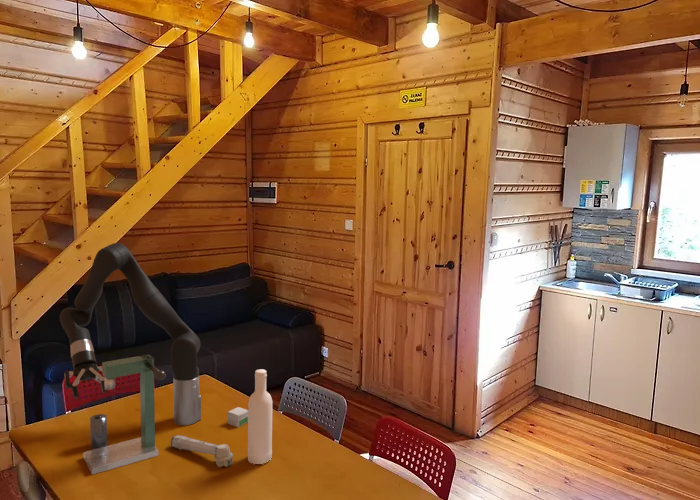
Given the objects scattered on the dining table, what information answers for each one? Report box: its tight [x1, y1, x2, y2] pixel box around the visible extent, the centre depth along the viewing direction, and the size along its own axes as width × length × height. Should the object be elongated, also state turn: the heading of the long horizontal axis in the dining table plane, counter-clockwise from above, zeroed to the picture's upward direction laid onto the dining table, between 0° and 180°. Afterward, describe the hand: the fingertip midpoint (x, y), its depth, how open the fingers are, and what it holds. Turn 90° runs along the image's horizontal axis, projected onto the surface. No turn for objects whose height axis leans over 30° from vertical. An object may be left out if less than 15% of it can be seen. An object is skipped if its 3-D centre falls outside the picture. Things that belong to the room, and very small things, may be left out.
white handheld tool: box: [169, 434, 234, 468], centre depth 169 cm, size 5×7×25 cm
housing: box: [89, 413, 108, 450], centre depth 173 cm, size 5×5×10 cm
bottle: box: [247, 368, 273, 465], centre depth 167 cm, size 8×8×30 cm
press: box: [82, 354, 167, 475], centre depth 162 cm, size 20×21×32 cm
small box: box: [227, 406, 248, 428], centre depth 194 cm, size 6×6×5 cm
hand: (90, 394), depth 181 cm, fingers open, 8 cm apart
